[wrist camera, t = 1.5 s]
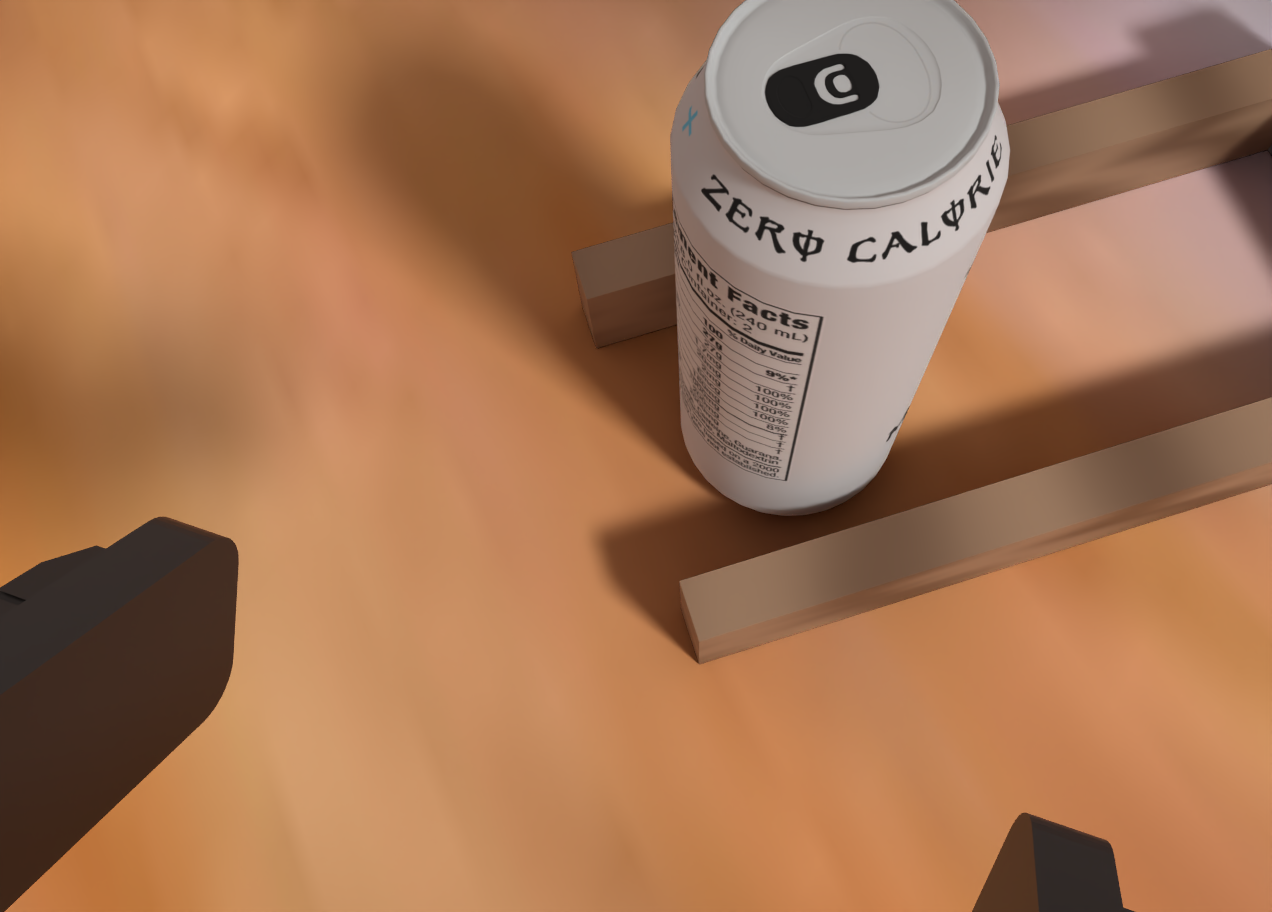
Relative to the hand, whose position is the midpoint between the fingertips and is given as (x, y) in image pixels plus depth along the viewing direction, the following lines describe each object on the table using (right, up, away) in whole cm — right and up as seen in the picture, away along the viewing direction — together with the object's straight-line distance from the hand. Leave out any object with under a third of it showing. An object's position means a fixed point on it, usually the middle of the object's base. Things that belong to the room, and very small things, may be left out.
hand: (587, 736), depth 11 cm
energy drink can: (+5, +3, +22) cm, 22 cm away
